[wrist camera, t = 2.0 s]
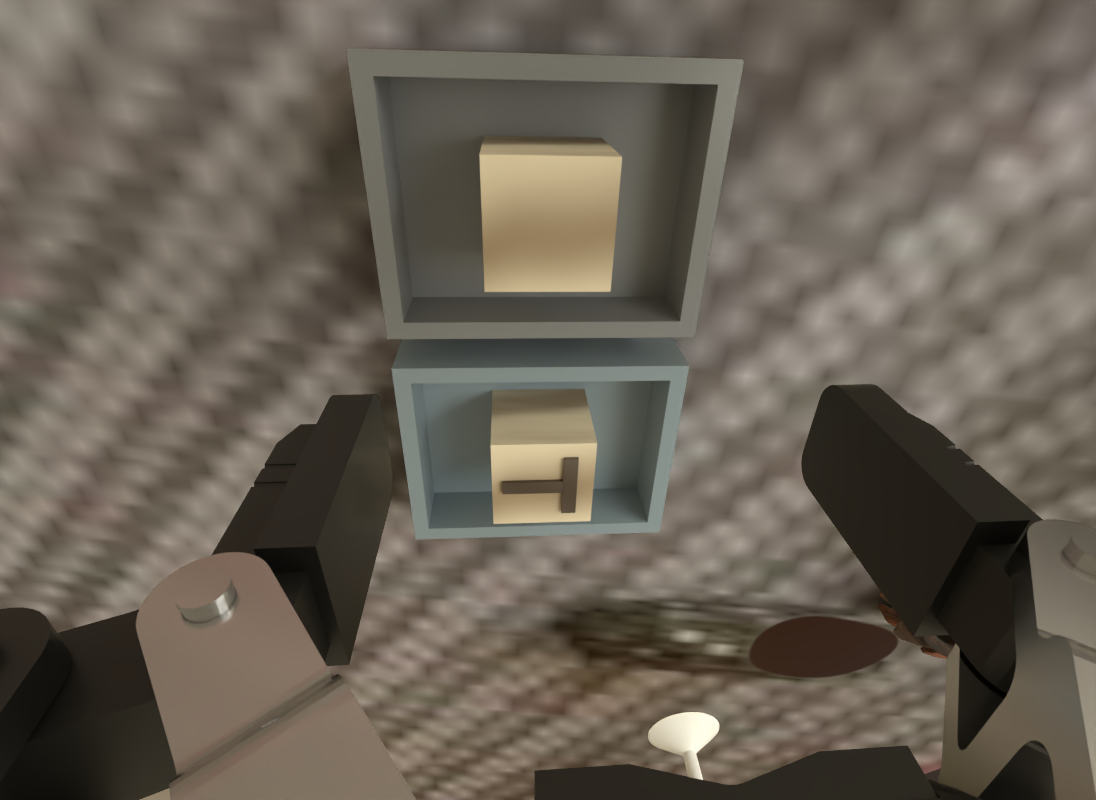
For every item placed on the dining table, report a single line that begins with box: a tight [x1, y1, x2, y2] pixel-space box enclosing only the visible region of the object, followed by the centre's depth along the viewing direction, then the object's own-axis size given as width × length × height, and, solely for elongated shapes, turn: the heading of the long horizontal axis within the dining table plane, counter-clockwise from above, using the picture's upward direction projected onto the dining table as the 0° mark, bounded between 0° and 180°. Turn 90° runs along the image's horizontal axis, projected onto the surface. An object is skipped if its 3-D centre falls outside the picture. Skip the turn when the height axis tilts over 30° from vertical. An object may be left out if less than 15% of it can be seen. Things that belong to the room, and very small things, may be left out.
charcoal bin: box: [346, 49, 744, 339], centre depth 24 cm, size 11×14×4 cm
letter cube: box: [491, 389, 597, 524], centre depth 29 cm, size 5×5×5 cm
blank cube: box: [479, 136, 622, 292], centre depth 23 cm, size 5×5×5 cm
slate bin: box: [391, 337, 689, 540], centre depth 31 cm, size 11×14×4 cm
